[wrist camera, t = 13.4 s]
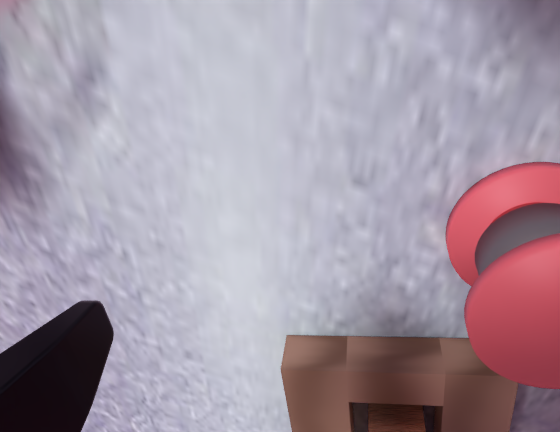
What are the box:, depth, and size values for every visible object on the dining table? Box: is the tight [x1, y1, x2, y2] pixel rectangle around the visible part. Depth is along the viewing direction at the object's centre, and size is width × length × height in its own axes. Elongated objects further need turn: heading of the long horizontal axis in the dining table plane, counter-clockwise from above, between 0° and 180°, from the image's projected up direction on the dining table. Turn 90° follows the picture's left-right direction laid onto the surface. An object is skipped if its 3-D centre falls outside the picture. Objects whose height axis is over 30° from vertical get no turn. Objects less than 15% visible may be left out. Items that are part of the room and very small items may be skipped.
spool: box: [446, 162, 560, 389], centre depth 20 cm, size 7×7×6 cm
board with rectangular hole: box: [281, 335, 518, 432], centre depth 29 cm, size 12×12×2 cm
